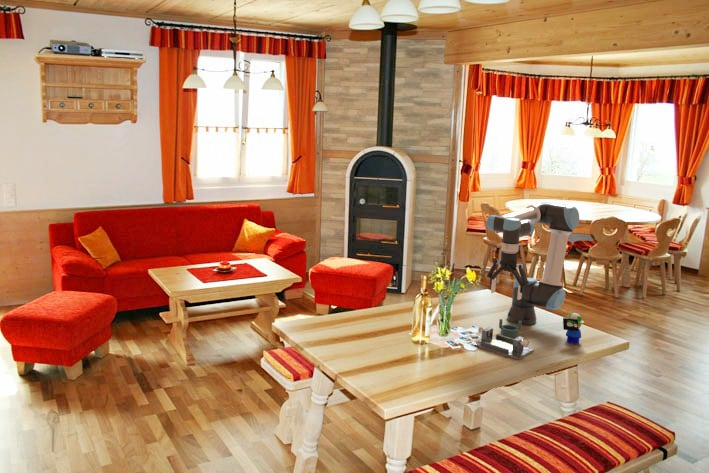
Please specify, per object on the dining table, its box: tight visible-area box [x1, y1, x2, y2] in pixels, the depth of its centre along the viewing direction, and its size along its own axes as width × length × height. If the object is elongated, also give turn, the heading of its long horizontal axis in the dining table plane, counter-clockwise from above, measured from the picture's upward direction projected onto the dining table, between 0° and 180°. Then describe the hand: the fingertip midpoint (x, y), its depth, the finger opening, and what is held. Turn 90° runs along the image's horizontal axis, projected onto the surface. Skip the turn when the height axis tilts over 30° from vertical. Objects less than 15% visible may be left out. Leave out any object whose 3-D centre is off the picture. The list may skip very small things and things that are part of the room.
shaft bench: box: [473, 326, 535, 361], centre depth 293 cm, size 15×25×7 cm, turn 47°
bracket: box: [498, 318, 523, 339], centre depth 307 cm, size 9×9×9 cm
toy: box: [562, 312, 585, 345], centre depth 303 cm, size 9×9×15 cm
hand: (506, 295), depth 290 cm, fingers open, 13 cm apart
